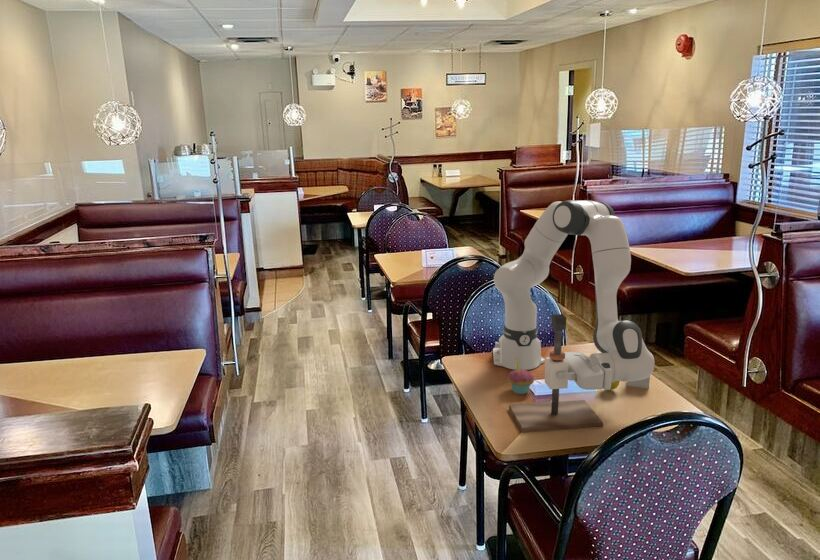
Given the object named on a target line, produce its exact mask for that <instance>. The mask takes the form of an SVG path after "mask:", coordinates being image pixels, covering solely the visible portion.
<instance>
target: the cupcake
mask: <svg viewBox="0 0 820 560" xmlns="http://www.w3.org/2000/svg"><path fill="white" fill-rule="evenodd" d="M516 366H517V369H516V370H514V369H512V370H511V371H510V372H509V373H508V375H507V381H508V383H509V384H510V385H511V388H512V391H513V392H514V393H515V394H519V395H523V394H524V395H525V394H527V393H528V392H529V389H530V386H531V385H532V384H533V383H535V378H534V375H533V373H532V372H530V371H529V370H523V369H519V366H518V360H517V358H516Z"/></svg>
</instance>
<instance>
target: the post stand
mask: <svg viewBox="0 0 820 560" xmlns="http://www.w3.org/2000/svg"><path fill="white" fill-rule="evenodd" d="M551 328H552V329H553V330H554V338H553V339H554V340H553V341H554V342H553V346H554V347H553V350H552V351H549V357H550V358H551V359H553V360H554V362H561V360H563V359H565V353H564V352H565V351H562V339H563V330H564V331H565V330H567V316H566V315H564V314H562V313H561V314H560V313H558V314H557V313H556V314H551ZM551 390H552V391H551V401H546V402H544V401H543V402H529V403H528V402H527V403H514V404H513V403H511V404H508V410H509V413H511V415H512V417H513V419H514V420H515V422H516V424H517V426H518V428H519V429H520V431H521V433H535V432H549V431H551V432H553V431H565V430H579V429H582V430H583V429H593V428H594V429H595V428H597V429H598V428H603V427H604V422H603V421H602V419H601V418H600V417H599V415H597V413H596V412H595V411H594V410H593V408H592V407H591V406H590V405H589V404H588V402H587V401H586V400H585V399H579V400H578V399H577V400H561V401H559V399H560V389H551Z"/></svg>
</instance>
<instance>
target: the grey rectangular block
mask: <svg viewBox="0 0 820 560" xmlns="http://www.w3.org/2000/svg"><path fill="white" fill-rule="evenodd" d="M650 380H651V376H649V377H648V378H646V379H643V380H638V381H628V382H627V383H626V384H627V387H632V388H633V387H634V388H641V389H650V382H651V381H650Z"/></svg>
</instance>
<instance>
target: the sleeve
mask: <svg viewBox="0 0 820 560" xmlns="http://www.w3.org/2000/svg"><path fill="white" fill-rule="evenodd" d="M544 363H545V365H544V367H545V368H544V384H546V386H547V387H548V389H549V390H552V389H559V390H560V389H561V390H562V389H564V390H565V389H568V383H569V382H568V381H569V380H566V379H558V378H557V376H556V375H557V372H558V371H559V372H560V371H563V372H567V373H568V367H569V363H568V361H567V360H566V359H563V360H561V362H554V360H553V359H551V358H550V356H546V357H545V362H544Z"/></svg>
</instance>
